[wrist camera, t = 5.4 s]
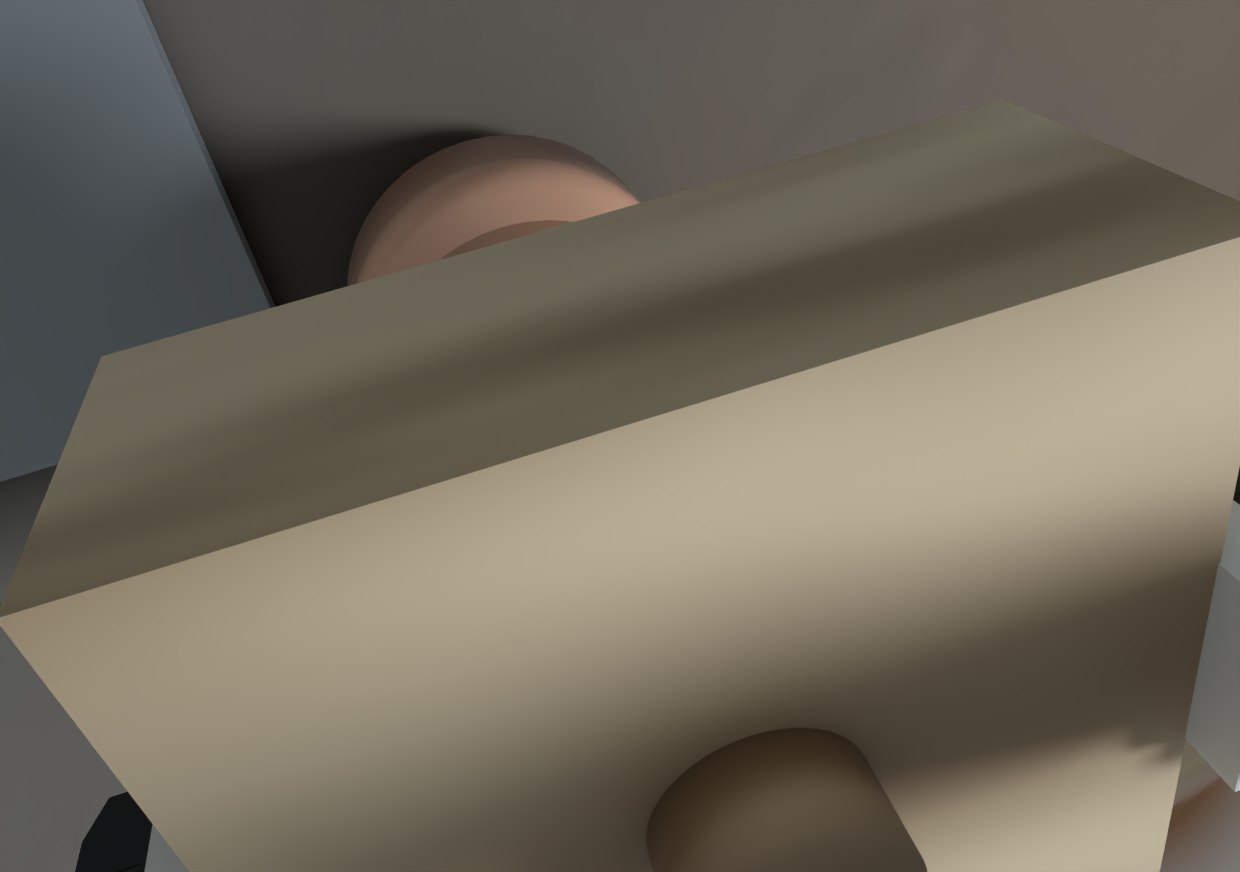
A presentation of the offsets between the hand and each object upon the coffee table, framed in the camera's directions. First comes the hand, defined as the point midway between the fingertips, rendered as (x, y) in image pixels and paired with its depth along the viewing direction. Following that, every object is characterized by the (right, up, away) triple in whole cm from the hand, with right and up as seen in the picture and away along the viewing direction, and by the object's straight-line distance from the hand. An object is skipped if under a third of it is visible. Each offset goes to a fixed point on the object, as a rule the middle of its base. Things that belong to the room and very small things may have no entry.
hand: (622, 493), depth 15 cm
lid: (0, -1, -1) cm, 2 cm away
